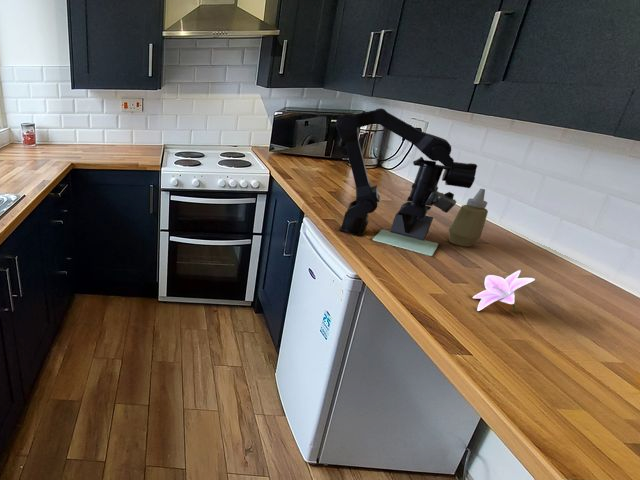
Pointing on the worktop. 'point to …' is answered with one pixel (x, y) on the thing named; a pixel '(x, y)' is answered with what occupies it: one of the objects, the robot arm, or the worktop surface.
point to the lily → (501, 289)
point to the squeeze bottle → (469, 221)
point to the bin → (416, 232)
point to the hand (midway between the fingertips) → (409, 230)
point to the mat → (406, 242)
